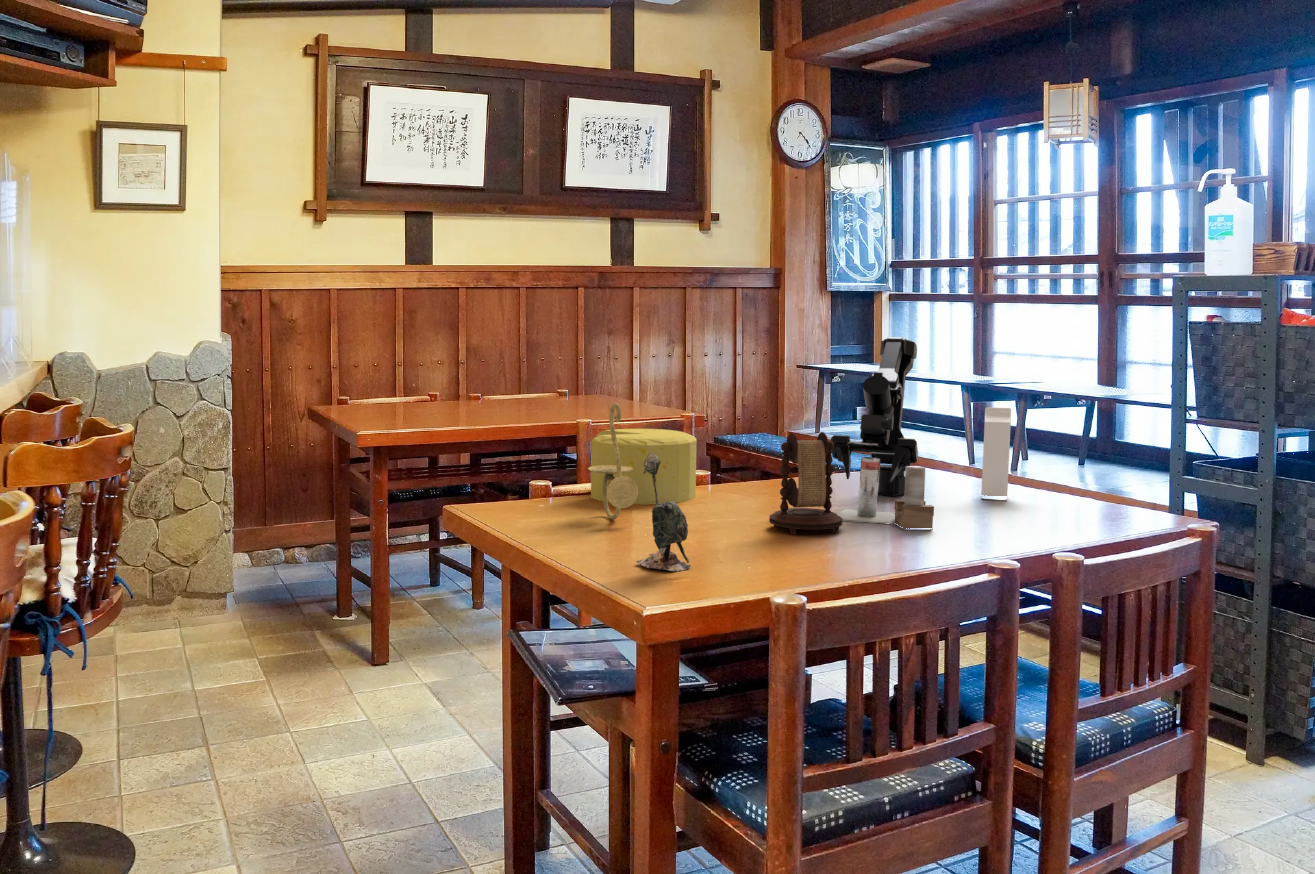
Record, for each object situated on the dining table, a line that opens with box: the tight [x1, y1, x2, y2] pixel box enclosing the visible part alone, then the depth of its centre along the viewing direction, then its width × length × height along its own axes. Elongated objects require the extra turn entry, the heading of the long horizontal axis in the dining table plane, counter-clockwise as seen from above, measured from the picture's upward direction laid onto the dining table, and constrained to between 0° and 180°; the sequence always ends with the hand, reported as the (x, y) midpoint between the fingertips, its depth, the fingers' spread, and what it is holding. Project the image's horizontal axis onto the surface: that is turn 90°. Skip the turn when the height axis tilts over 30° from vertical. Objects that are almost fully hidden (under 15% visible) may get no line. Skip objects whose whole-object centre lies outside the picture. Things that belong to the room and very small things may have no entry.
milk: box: [980, 406, 1012, 497], centre depth 265 cm, size 6×6×22 cm
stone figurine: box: [636, 453, 692, 573], centre depth 188 cm, size 8×11×20 cm
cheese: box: [590, 428, 697, 505], centre depth 264 cm, size 26×26×15 cm
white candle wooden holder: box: [894, 465, 935, 530], centre depth 228 cm, size 8×6×12 cm
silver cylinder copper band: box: [857, 456, 881, 517], centre depth 238 cm, size 4×4×12 cm
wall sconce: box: [587, 402, 638, 521], centre depth 232 cm, size 14×10×25 cm
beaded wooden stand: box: [768, 432, 843, 536], centre depth 224 cm, size 15×15×20 cm
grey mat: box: [837, 508, 895, 524], centre depth 239 cm, size 12×12×1 cm
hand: (868, 479), depth 239 cm, fingers open, 9 cm apart
